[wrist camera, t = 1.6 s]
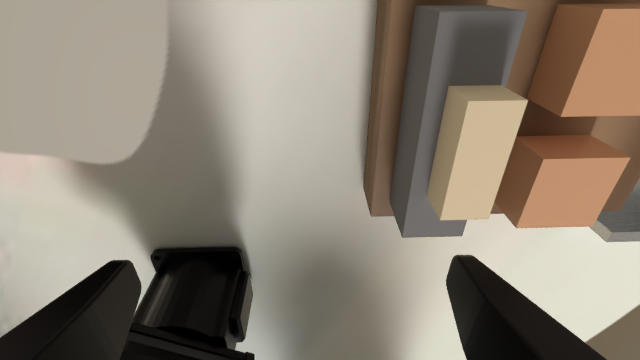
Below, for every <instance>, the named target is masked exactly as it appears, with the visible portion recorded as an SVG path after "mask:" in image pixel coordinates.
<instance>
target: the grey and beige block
mask: <svg viewBox="0 0 640 360" xmlns="http://www.w3.org/2000/svg"><path fill="white" fill-rule="evenodd" d="M527 12H528V11H525V10H518V9H512V8H505V7H498V6H492V5H415V11H414V19H413V27H412V34H411V42H410V50H409V57H408V65H407V73H406V80H405V88H404V96H403V103H402V111H401V119H400V126H399V134H398V142H397V150H396V157H395V165H394V173H393V180H392V188H391V196H390V205H391V207H392V210H393V213H394V216H395V219H396V221H397V224H398V227H399V230H400V232H401V235H402V238H404V237H445V236H462V235H463V232H464V228H465V225H466V221H467V220H478V219H489V216H490V213H491V210H492V207H493V204H494V201H495V198H496V195H497V192H498V189H499V186H500V183H501V180H502V177H503V174H504V171H505V168H506V165H507V162H508V159H509V156H510V153H511V150H512V147H513V144H514V141H515V138H516V135H517V132H518V129H519V126H520V123H521V120H522V117H523V114H524V111H525V108H526V105H527V102H528V100H527V99H525V98H523V97H521V96H520V95H518V94H516V93H514V92H512V91H511V90H509V89H507V88H506V84H507V81H508V77H509V74H510V71H511V67H512V64H513V60H514V57H515V53H516V50H517V47H518V43H519V40H520V36H521V33H522V29H523V26H524V23H525V19H526V16H527Z"/></svg>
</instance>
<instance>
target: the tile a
mask: <svg viewBox="0 0 640 360" xmlns="http://www.w3.org/2000/svg"><path fill="white" fill-rule="evenodd" d="M630 158H631V157H629V156H627V155H625V154H623V153H622V152H620V151H618V150H616V149H615V148H613V147H611V146H609V145H607V144H606V143H604V142H602V141H600V140H598V139H597V138H595V137H593V136H591V135H562V136H516V138H515V141H514V144H513V147H512V150H511V153H510V156H509V159H508V162H507V165H506V168H505V171H504V174H503V177H502V180H501V183H500V186H499V189H498V192H497V195H496V198H495V201H494V202H495V203H496V204H497V206H498V207H499V208H500V209H501V210H502V212H503V213H504V214H505V215H506V216H507V218H508V219H509V220H510V221H511V223H512V224H513V225H514V226H515V227H516V228H543V227H585V226H593V225H594V223H595V221H596V219H597V218H598V216H599V214H600V212H601V210H602V208H603V207H604V205H605V203H606V201H607V199H608V198H609V196H610V194H611V192H612V190H613V189H614V187H615V185H616V183H617V181H618V180H619V178H620V176H621V174H622V172H623V171H624V169H625V167H626V165H627V163H628V162H629V160H630Z"/></svg>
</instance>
